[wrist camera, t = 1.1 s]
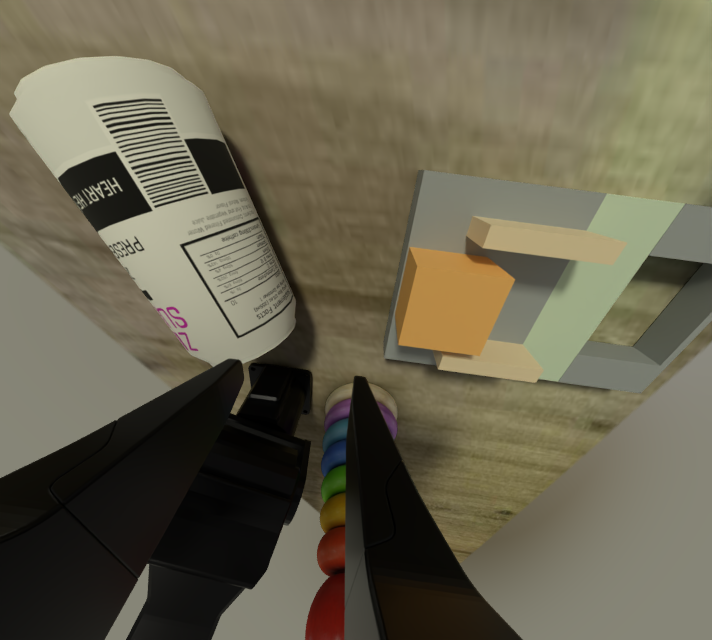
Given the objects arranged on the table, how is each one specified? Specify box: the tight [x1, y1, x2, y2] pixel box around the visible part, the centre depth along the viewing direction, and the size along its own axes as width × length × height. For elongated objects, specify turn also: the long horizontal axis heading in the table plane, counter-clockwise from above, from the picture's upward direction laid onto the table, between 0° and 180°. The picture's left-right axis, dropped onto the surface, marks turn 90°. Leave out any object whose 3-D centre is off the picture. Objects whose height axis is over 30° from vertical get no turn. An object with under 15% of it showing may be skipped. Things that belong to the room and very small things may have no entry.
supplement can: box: [9, 56, 296, 367], centre depth 16 cm, size 8×8×15 cm
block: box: [395, 247, 515, 356], centre depth 16 cm, size 5×5×4 cm
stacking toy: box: [305, 383, 398, 640], centre depth 21 cm, size 8×8×19 cm
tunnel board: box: [384, 170, 712, 393], centre depth 18 cm, size 14×22×6 cm, turn 84°
